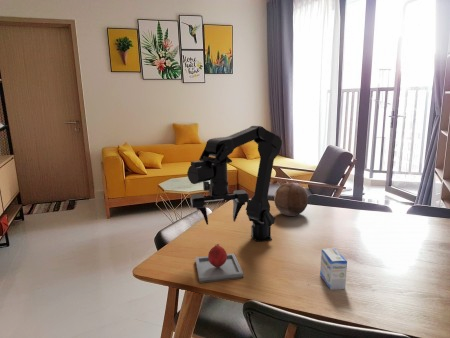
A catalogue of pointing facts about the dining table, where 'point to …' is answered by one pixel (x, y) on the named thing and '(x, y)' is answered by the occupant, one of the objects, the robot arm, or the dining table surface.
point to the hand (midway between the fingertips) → (220, 222)
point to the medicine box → (333, 268)
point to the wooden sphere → (291, 199)
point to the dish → (218, 269)
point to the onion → (217, 256)
